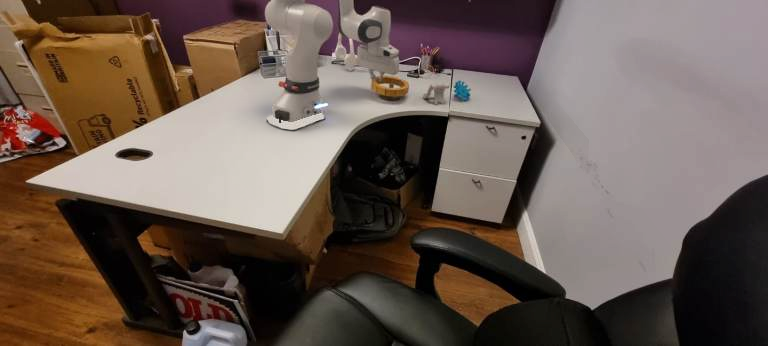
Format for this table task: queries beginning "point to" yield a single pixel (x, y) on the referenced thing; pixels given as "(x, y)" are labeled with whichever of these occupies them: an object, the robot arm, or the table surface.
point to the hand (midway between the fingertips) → (376, 80)
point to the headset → (341, 53)
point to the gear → (462, 91)
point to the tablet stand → (436, 92)
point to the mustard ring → (390, 91)
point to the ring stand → (390, 98)
